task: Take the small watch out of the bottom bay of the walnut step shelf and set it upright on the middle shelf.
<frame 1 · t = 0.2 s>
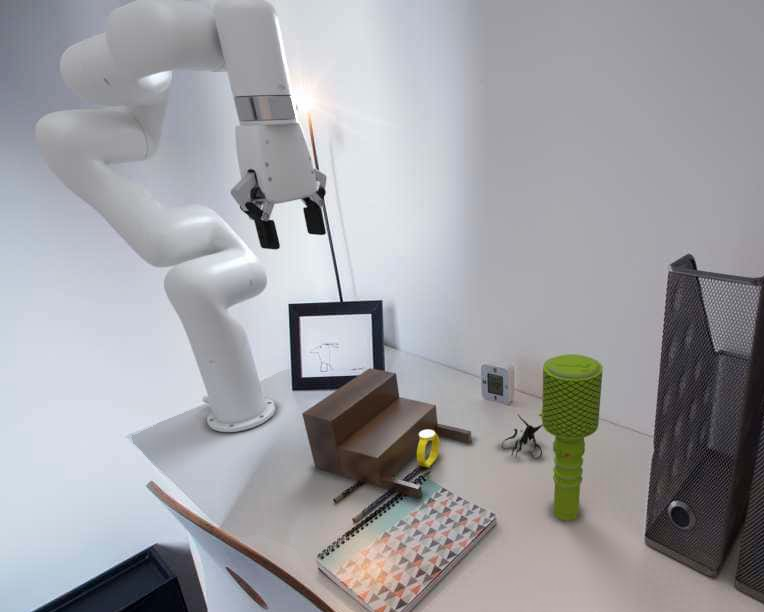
hand: (295, 241, 80), 37 cm above the table, tool pointing down, fingers open, 9 cm apart
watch: (429, 463, 92), on the table
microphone: (564, 513, 80), on the table
creature: (523, 450, 94), on the table
step shelf: (396, 453, 94), on the table
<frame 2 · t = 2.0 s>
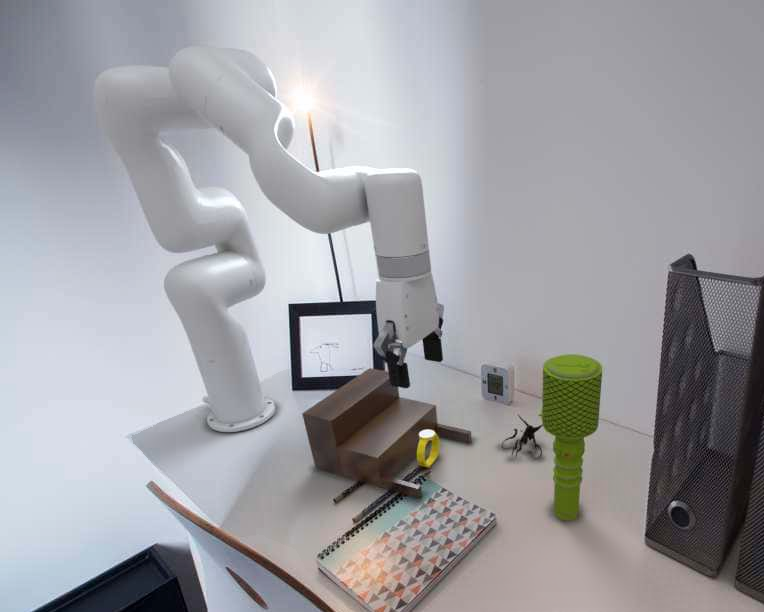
hand: (418, 372, 83), 17 cm above the table, tool pointing down, fingers open, 9 cm apart
nothing on the table moved.
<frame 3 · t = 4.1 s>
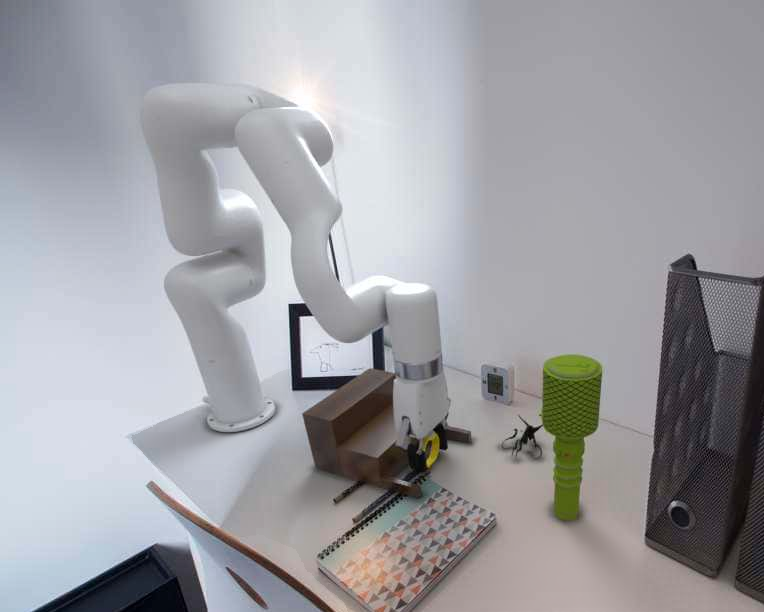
hand: (429, 457, 91), 1 cm above the table, tool pointing down, fingers closed on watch, 6 cm apart
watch: (429, 463, 92), on the table, touching gripper
everything else where it was.
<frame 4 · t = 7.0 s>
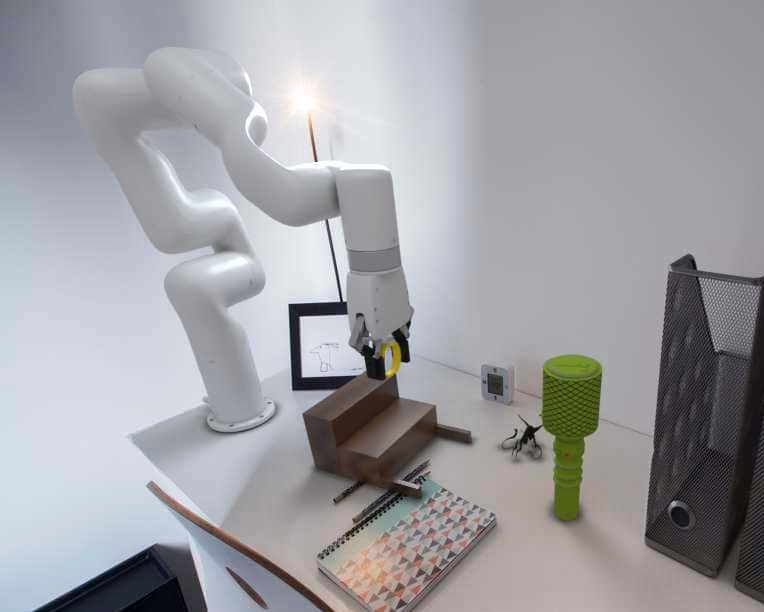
hand: (389, 368, 85), 17 cm above the table, tool pointing down, fingers closed on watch, 6 cm apart
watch: (390, 375, 86), point 16 cm above the table, touching gripper
everything else where it was.
when the fingers open (7 cm above the table, at t = 10.0 s): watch stays where it is, resting on step shelf.
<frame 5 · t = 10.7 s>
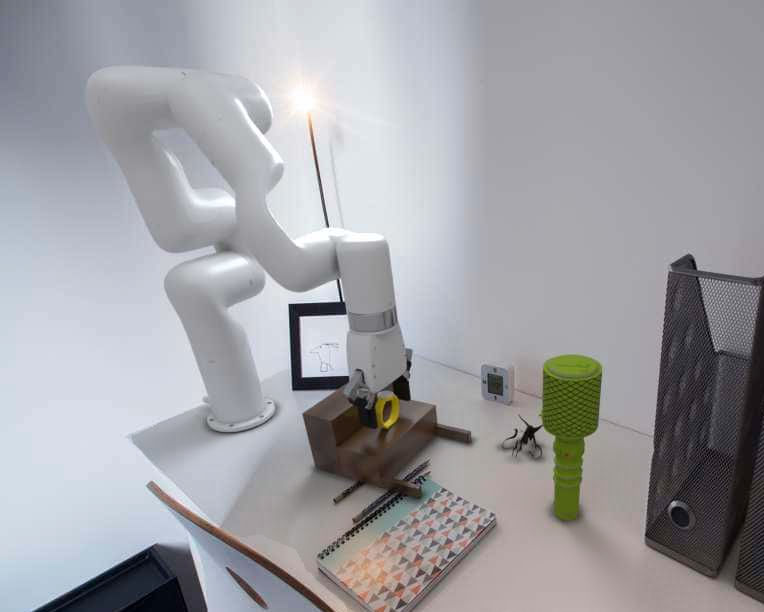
hand: (386, 412, 90), 8 cm above the table, tool pointing down, fingers open, 9 cm apart
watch: (389, 425, 92), point 6 cm above the table, touching step shelf
everything else where it was.
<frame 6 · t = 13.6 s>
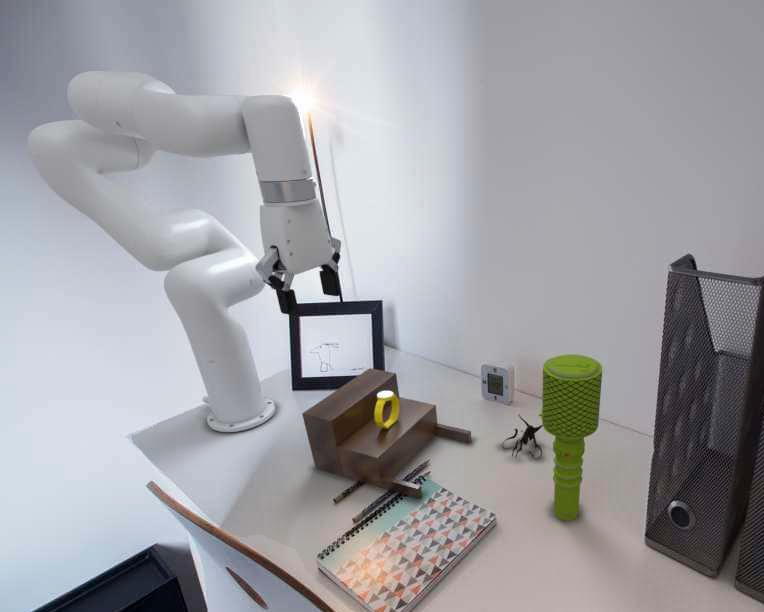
hand: (312, 304, 86), 26 cm above the table, tool pointing down, fingers open, 9 cm apart
nothing on the table moved.
at the end: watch inside the target area (0.0 cm from its centre), point 5.8 cm above the table; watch tilted 0°; the gripper is holding nothing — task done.
